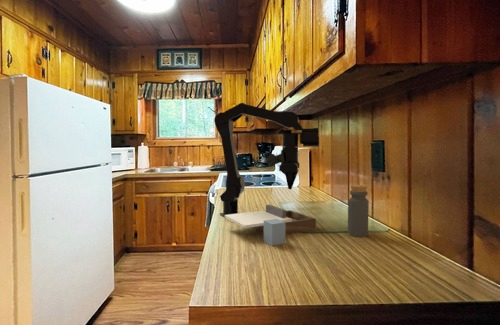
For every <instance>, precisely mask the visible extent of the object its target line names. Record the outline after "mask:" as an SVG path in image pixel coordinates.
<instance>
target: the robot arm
mask: <svg viewBox="0 0 500 325" xmlns="http://www.w3.org/2000/svg"><path fill="white" fill-rule="evenodd" d="M244 115H246V116H249V117H254V118H259V119H261V120H266V121H269V122H270V121H271V122H274V123H275V124H278V125H279V126H282V127H281V128H280V130H278V132H277V135H280V136H281V135H282V146H281V147H282V149H281V150H280V153H279V154H277V155H276V154H274V153H271V154H269V155H268V158H266V160H267V161H266V162H267V164H268V167H273V166H274V165H278V164H280V165H278V166H279V167H278V169H279V170H278V171H279V172H281V173H283V175H284V176H285V181H286V184H287V189H288V190H292V189H293V186H294V184H295V181H296V178H297V177H298V176H297V175H298V173H299V169H300V162H299V145H302V147H303V148H305V147H307V148H310V147H311V148H317V147H318V148H319V146H320V137H319V127H313V128H303V125H301V124H300V123H299V122H300V120H299V117H298V115H297V114H296V113H295V112H293V111H284V110H283V111H282V110H281V111H280V110H277V111H275V110H271V109H268V108H263V107H259V106H255V105H250V104H246V103H245V102H239V103H238V104H236V105H235V106H234V107H231V108H229V109H227V110H225V111H224V112H223V111H221V112H218V113H217V114H216V115H215V116H214V124H215V127H216V130H217V132H218V134H219V136H220V138H221V144H222V146H221V147H222V150H223V155H224V162H225V168H226V169H225V170H226V180H225V190H224V191H223V193H221V194H220V196H219V198H220V200H221V202H222V212H220V213H219V215H221V216H222V217H224V218H225V215H229V214H238V213H239V208H238V207H239V198H240V195H242V194H243V192H244V191H245V187H246V186H247V185H246V183H245V175H241V174H240V172H239V168H238V162H237V156H236V155H237V154H236V150H235V144H234V139H233V138H234V137H233V134H234V123H235V122H237V121H239V119H241V118H242V117H243V116H244ZM283 127H284V128H287V129H284V128H283ZM292 129H294V130H295V131H296V132H293V130H292Z"/></svg>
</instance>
